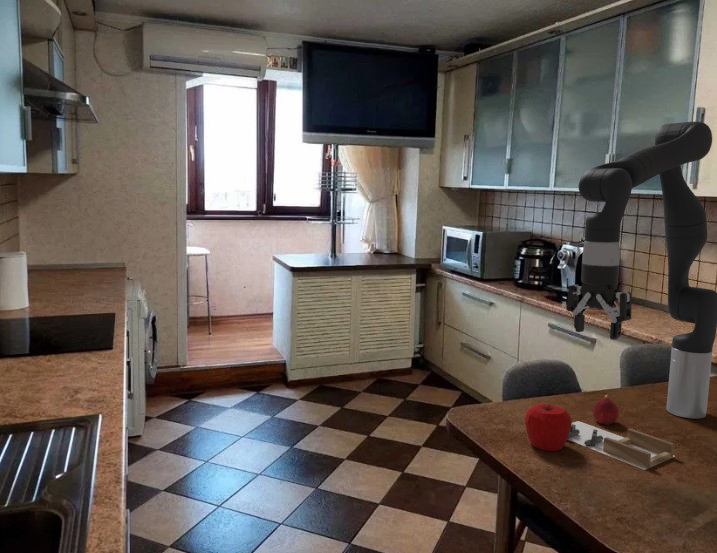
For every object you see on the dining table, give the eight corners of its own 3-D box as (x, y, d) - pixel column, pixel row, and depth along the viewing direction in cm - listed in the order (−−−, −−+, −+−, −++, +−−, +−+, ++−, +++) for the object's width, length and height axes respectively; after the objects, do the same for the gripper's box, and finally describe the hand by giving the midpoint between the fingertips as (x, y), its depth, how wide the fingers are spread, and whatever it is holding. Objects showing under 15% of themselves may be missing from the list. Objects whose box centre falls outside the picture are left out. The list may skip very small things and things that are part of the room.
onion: (619, 432, 146) (622, 400, 145) (594, 430, 147) (596, 398, 146) (614, 423, 151) (617, 392, 150) (590, 421, 153) (592, 390, 152)
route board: (578, 425, 150) (579, 411, 149) (675, 461, 130) (676, 445, 130) (540, 438, 142) (541, 423, 141) (638, 478, 122) (639, 461, 122)
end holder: (629, 441, 138) (630, 428, 137) (673, 457, 129) (674, 443, 129) (603, 451, 132) (604, 438, 131) (647, 468, 124) (648, 454, 123)
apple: (569, 445, 138) (572, 399, 136) (569, 462, 129) (573, 413, 127) (524, 439, 141) (527, 393, 139) (521, 455, 132) (524, 407, 130)
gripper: (641, 264, 128) (636, 339, 130) (582, 257, 139) (578, 327, 142) (621, 267, 124) (616, 344, 126) (561, 260, 135) (558, 331, 137)
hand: (596, 335), depth 134 cm, fingers open, 8 cm apart
